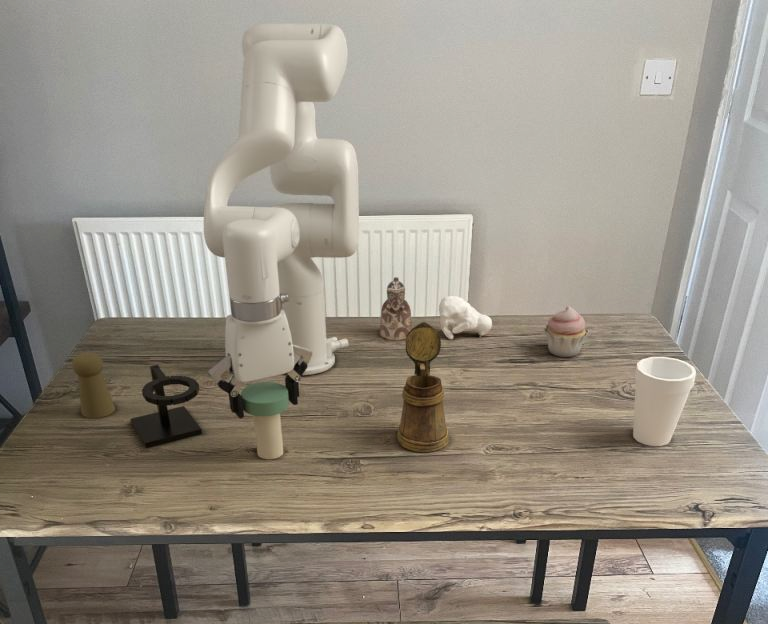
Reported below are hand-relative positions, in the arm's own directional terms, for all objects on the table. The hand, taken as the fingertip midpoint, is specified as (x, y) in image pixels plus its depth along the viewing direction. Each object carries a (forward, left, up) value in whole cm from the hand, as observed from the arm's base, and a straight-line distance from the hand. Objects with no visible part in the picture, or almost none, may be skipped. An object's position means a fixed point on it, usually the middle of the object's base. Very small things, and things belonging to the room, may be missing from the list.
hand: (265, 408), depth 131 cm
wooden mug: (-26, +7, -9) cm, 28 cm away
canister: (0, 0, -9) cm, 9 cm away
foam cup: (-60, +28, -9) cm, 67 cm away
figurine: (-44, -34, -9) cm, 56 cm away
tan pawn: (+22, -30, -9) cm, 38 cm away
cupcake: (-70, -8, -9) cm, 71 cm away
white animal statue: (-57, -26, -9) cm, 63 cm away
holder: (+13, -13, -9) cm, 20 cm away
